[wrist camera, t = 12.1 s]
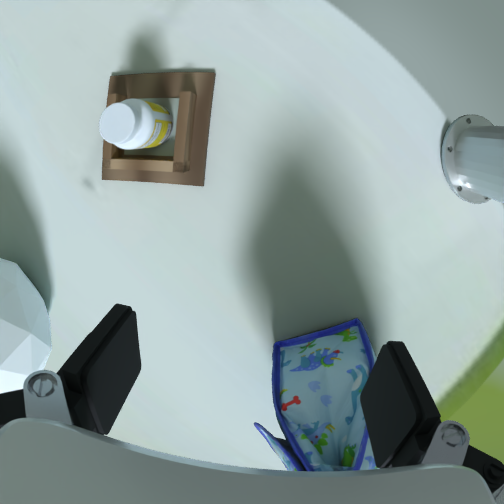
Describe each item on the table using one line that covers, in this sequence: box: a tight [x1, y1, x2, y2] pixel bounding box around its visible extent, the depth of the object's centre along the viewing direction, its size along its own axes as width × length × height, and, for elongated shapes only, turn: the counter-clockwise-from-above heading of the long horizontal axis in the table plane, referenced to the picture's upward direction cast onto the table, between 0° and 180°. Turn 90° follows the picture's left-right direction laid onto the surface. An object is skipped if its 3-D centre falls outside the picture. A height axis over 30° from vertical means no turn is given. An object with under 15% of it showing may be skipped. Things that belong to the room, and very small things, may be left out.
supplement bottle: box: [99, 99, 174, 150], centre depth 29 cm, size 5×5×10 cm
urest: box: [102, 72, 216, 186], centre depth 32 cm, size 14×14×4 cm
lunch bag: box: [254, 318, 380, 472], centre depth 33 cm, size 22×17×26 cm
